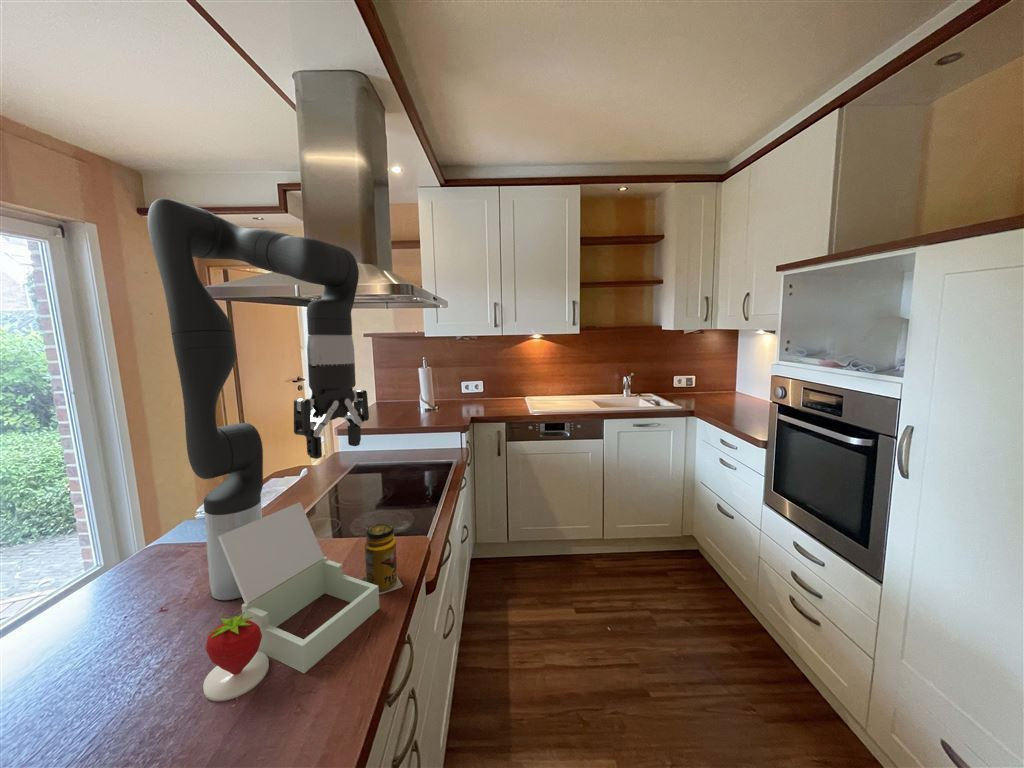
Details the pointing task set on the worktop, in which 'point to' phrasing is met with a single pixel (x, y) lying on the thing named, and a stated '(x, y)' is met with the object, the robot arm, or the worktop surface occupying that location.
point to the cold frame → (293, 585)
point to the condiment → (381, 558)
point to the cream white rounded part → (235, 679)
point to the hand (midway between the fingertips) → (335, 451)
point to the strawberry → (234, 643)
